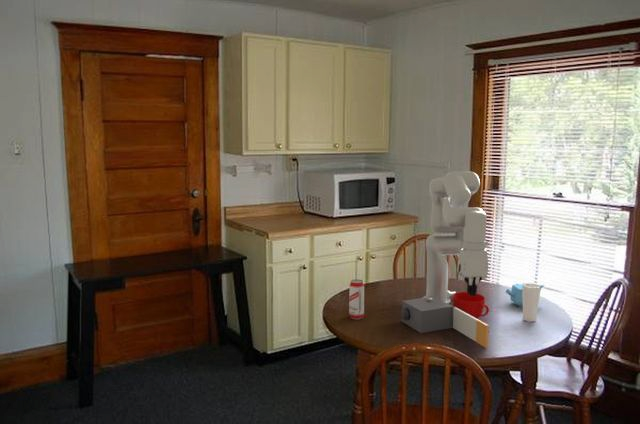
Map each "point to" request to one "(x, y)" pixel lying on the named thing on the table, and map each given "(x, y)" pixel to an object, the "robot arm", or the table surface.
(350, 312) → the beer can
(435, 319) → the block
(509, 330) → the table surface
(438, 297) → the robot arm
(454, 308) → the side door
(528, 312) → the drinking glass
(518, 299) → the teapot
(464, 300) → the ceramic cup
